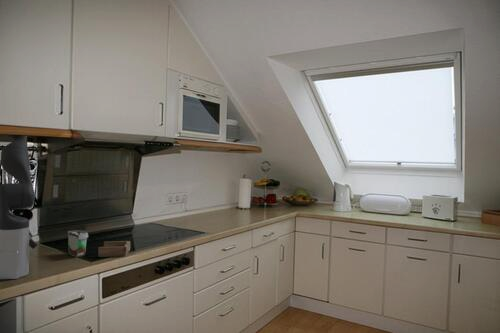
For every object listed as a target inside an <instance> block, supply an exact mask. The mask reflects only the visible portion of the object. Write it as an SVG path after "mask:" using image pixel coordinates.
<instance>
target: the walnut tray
mask: <svg viewBox="0 0 500 333" xmlns="http://www.w3.org/2000/svg"><path fill="white" fill-rule="evenodd" d="M130 250H131V240H120V241H119V240H118V241H115V240H114V241H103V246H99V247H98V250H97V251H98V254H97V256H98V258H106V257H107V258H110V257H112V258H113V257H127V255H128V254H129V252H130Z"/></svg>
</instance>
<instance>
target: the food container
mask: <svg viewBox="0 0 500 333" xmlns="http://www.w3.org/2000/svg"><path fill="white" fill-rule="evenodd" d="M67 236H68V240H67V243H68V246H67V247H68V254H69V255H71V256H73V257H75V258H82V257H83V256H86V249H87V240H88V238H89V233H88V231H86V230H69V231H67Z"/></svg>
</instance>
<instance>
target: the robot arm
mask: <svg viewBox="0 0 500 333" xmlns="http://www.w3.org/2000/svg"><path fill="white" fill-rule="evenodd" d="M3 136H4V137H7V138H9V139H12V140H13V141H12V142H10V143H8V144H6V145H5V146H4V147H3V148H2V150H1V152H0V163H1V164H0V165H1V167H2V169H3V170H4V171H5V172H6V173H7V174H8V175H10V176H11V177H12V178H13V179H15V180H16V181H17V182H12V183H11V182H9V183H8V182H7V183H2V184H0V280H15V279H16V280H17V279H19V278H22V277H25V276H28V274H29V273H30V272H29V270H30V268H29V266H30V265H29V264H30V257H29V256H30V255H29V254H30V248H32V250H33V249H36V248H37V247H38V246H39V244H38V243H37V242H36V241H35V240H34V239H33V235H32V234H33V233H32V232H31V230H30V220H29V219H28V218H26V217H22V216H18V215H15V214H14V213H13V211H11V210H14V209H15V210H19V209H28V208H31V207H32V206H33V205H34V203H35V198H36V197H35V190H34V185H33V181H32V175H31V167H30V165H31V164H30V157H29V150H28V149H29V148H28V135H27V136H23V135H3Z"/></svg>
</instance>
